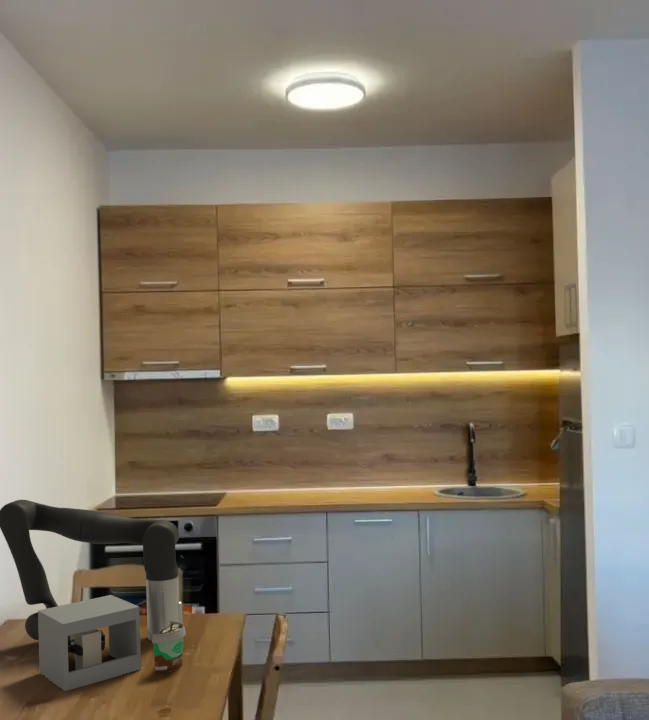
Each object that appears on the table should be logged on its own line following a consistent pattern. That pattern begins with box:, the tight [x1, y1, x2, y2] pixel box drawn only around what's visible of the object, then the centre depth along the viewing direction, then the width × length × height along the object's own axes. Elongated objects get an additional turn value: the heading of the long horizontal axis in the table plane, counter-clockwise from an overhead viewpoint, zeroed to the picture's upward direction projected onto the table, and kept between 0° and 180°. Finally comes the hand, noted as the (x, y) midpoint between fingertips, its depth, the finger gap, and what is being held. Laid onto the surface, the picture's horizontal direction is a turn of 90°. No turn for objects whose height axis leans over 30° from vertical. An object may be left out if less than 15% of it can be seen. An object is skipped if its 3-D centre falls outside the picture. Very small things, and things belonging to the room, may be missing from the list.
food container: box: [151, 621, 187, 674], centre depth 201 cm, size 12×6×10 cm, turn 168°
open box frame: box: [37, 594, 142, 692], centre depth 200 cm, size 20×17×16 cm
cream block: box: [74, 628, 103, 670], centre depth 201 cm, size 5×5×10 cm
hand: (92, 649), depth 199 cm, fingers closed on cream block, 5 cm apart
